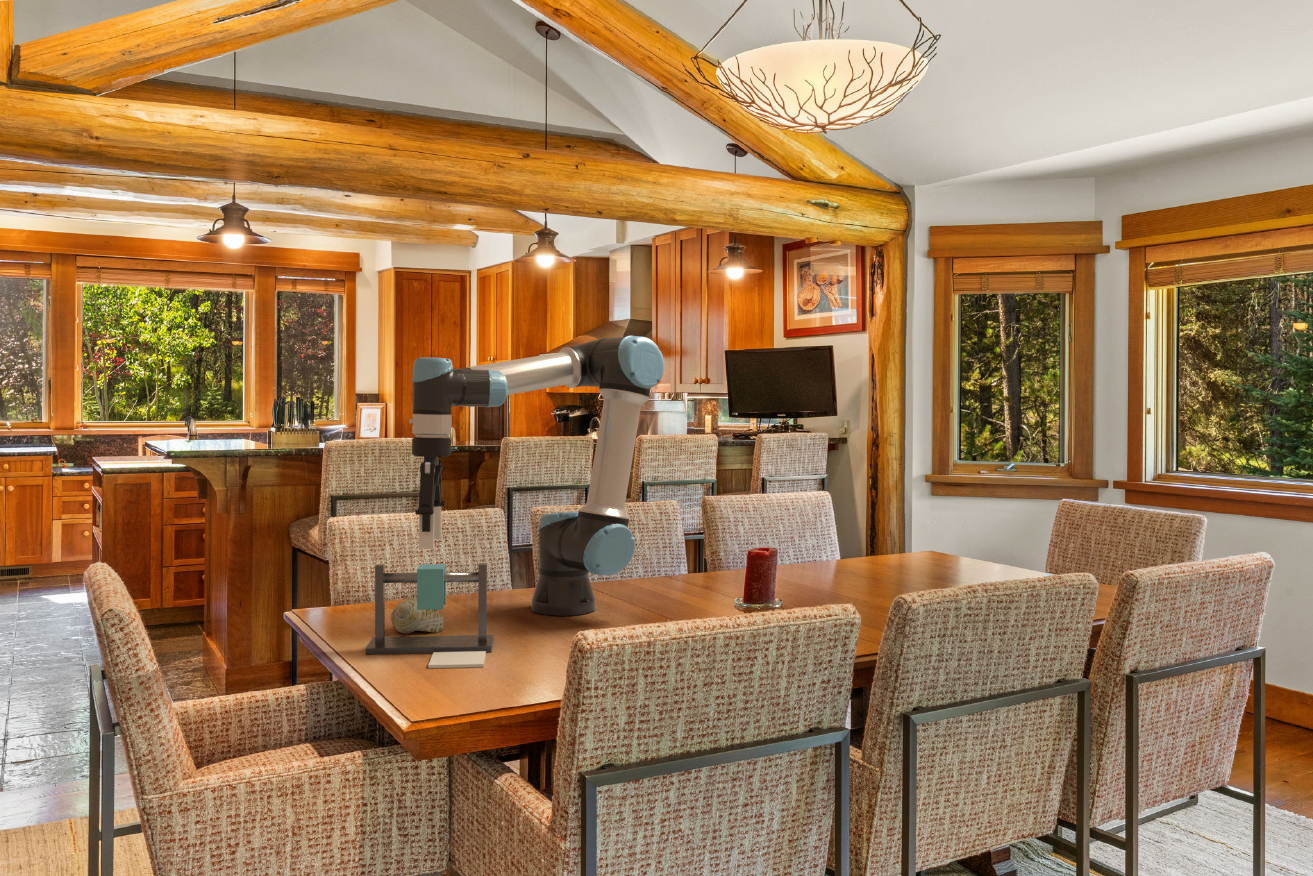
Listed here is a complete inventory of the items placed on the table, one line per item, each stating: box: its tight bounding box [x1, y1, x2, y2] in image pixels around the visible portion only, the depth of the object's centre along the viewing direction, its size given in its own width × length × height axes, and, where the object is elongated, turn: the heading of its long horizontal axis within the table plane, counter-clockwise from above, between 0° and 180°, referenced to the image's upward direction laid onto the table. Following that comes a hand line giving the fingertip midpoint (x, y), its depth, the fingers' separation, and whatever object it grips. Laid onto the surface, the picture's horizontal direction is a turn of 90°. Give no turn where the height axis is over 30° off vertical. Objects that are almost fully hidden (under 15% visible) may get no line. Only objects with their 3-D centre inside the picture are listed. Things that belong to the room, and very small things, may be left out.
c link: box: [416, 563, 447, 611], centre depth 193 cm, size 5×6×8 cm
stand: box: [364, 562, 495, 656], centre depth 193 cm, size 24×9×17 cm, turn 97°
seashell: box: [390, 596, 445, 634], centre depth 207 cm, size 10×10×10 cm
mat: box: [427, 651, 487, 669], centre depth 184 cm, size 10×9×1 cm
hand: (430, 543), depth 192 cm, fingers open, 13 cm apart
